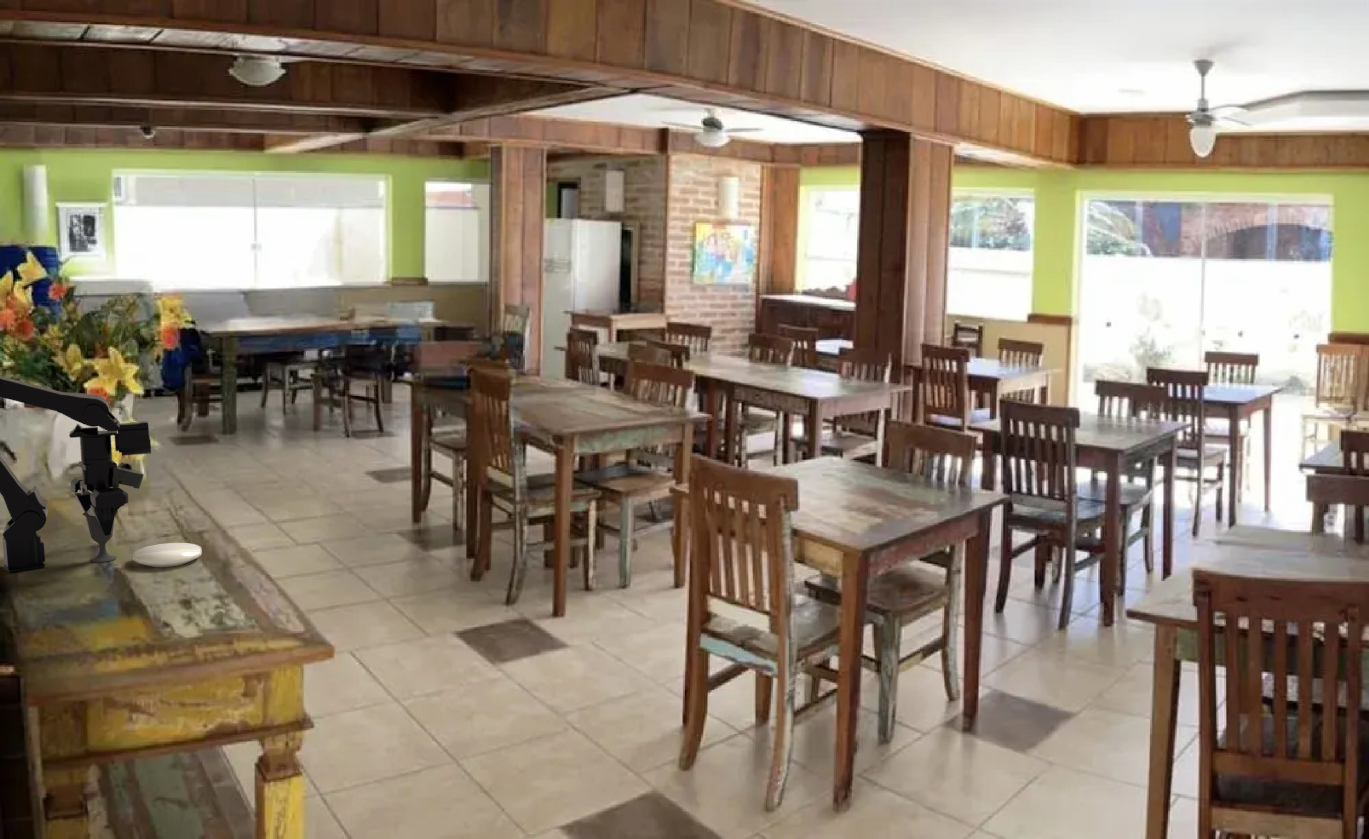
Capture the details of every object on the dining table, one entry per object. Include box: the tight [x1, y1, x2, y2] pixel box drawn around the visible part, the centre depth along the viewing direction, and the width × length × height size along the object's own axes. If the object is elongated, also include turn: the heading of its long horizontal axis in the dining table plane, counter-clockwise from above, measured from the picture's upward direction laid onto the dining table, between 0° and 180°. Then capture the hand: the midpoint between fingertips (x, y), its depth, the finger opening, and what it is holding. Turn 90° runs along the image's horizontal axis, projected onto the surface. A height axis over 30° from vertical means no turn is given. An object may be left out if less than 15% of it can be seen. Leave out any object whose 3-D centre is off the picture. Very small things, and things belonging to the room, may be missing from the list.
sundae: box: [82, 508, 119, 564], centre depth 247 cm, size 7×7×15 cm
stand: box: [132, 542, 202, 568], centre depth 248 cm, size 13×13×2 cm
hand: (101, 531), depth 247 cm, fingers open, 8 cm apart
